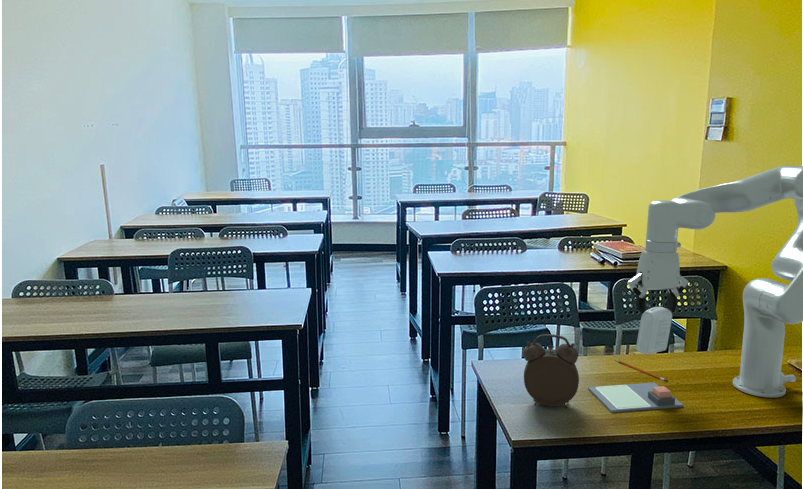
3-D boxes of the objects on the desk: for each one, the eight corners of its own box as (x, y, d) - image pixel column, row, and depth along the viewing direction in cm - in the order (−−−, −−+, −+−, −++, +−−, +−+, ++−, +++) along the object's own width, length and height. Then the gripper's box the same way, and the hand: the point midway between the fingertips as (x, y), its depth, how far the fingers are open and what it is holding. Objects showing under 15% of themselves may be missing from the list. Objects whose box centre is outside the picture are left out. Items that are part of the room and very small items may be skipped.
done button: (663, 393, 150) (664, 386, 149) (670, 399, 146) (670, 391, 146) (652, 394, 149) (652, 387, 149) (658, 399, 146) (659, 392, 146)
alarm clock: (577, 400, 151) (579, 331, 147) (578, 413, 144) (580, 340, 140) (523, 395, 155) (524, 328, 151) (521, 407, 148) (522, 337, 144)
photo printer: (654, 345, 155) (661, 303, 153) (668, 350, 152) (676, 308, 150) (632, 350, 150) (640, 306, 147) (647, 356, 146) (655, 311, 144)
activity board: (654, 384, 159) (654, 376, 159) (683, 406, 146) (683, 398, 145) (588, 389, 157) (588, 381, 157) (611, 412, 144) (611, 404, 143)
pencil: (665, 382, 161) (665, 380, 161) (613, 361, 177) (613, 359, 177) (667, 382, 161) (667, 379, 161) (615, 361, 178) (615, 358, 177)
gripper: (683, 244, 150) (677, 305, 153) (622, 245, 148) (618, 307, 152) (700, 249, 143) (694, 313, 146) (636, 250, 141) (631, 315, 144)
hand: (655, 310), depth 149 cm, fingers closed on photo printer, 8 cm apart
